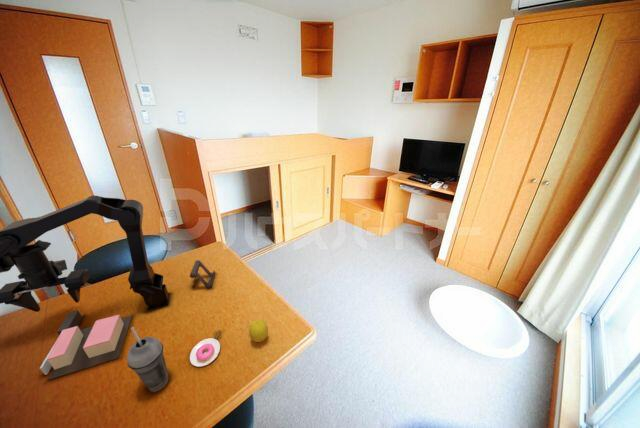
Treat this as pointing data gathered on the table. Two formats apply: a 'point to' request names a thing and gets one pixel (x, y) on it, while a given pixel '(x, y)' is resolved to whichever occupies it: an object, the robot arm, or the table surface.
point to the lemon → (258, 330)
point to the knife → (69, 322)
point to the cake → (103, 336)
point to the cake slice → (65, 347)
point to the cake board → (84, 361)
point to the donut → (204, 352)
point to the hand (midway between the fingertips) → (59, 306)
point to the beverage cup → (148, 362)
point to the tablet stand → (195, 274)
